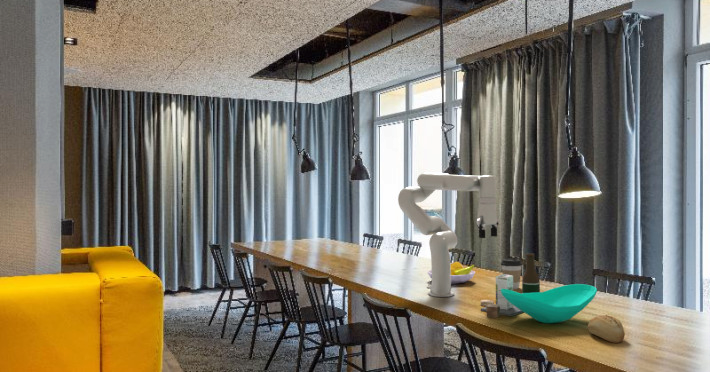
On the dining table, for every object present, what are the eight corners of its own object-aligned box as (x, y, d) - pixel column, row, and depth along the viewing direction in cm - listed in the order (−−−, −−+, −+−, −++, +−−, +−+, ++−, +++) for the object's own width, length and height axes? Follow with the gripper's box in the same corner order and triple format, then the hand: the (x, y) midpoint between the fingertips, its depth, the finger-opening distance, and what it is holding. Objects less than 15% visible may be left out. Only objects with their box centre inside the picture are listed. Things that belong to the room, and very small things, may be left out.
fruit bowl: (418, 280, 323) (418, 261, 323) (457, 276, 335) (457, 257, 335) (446, 288, 298) (446, 267, 298) (487, 283, 309) (486, 263, 309)
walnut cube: (486, 317, 235) (486, 306, 235) (489, 314, 239) (489, 304, 238) (497, 318, 232) (497, 307, 232) (499, 315, 236) (499, 305, 236)
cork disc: (477, 305, 257) (477, 301, 257) (485, 303, 261) (485, 299, 261) (489, 307, 252) (489, 303, 252) (496, 305, 257) (496, 301, 257)
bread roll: (602, 332, 209) (602, 310, 209) (633, 342, 194) (632, 319, 194) (580, 334, 206) (580, 312, 206) (610, 345, 192) (609, 322, 192)
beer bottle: (528, 308, 247) (527, 255, 247) (518, 305, 255) (518, 252, 255) (543, 307, 249) (543, 254, 249) (533, 304, 257) (533, 252, 257)
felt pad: (480, 310, 246) (480, 308, 246) (499, 305, 256) (499, 303, 256) (510, 316, 234) (510, 314, 234) (529, 310, 244) (529, 308, 244)
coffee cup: (525, 289, 290) (525, 261, 290) (503, 290, 290) (503, 261, 290) (519, 285, 301) (519, 258, 301) (498, 286, 302) (498, 258, 302)
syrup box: (501, 306, 249) (500, 273, 249) (513, 307, 245) (513, 275, 245) (495, 308, 245) (495, 275, 245) (508, 310, 241) (507, 276, 241)
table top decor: (521, 333, 208) (520, 298, 208) (488, 316, 235) (487, 285, 235) (615, 326, 216) (614, 292, 216) (572, 310, 243) (572, 280, 243)
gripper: (491, 200, 275) (491, 235, 275) (470, 201, 263) (470, 238, 263) (504, 200, 269) (505, 236, 269) (483, 202, 257) (484, 239, 258)
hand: (488, 237), depth 266 cm, fingers open, 9 cm apart
